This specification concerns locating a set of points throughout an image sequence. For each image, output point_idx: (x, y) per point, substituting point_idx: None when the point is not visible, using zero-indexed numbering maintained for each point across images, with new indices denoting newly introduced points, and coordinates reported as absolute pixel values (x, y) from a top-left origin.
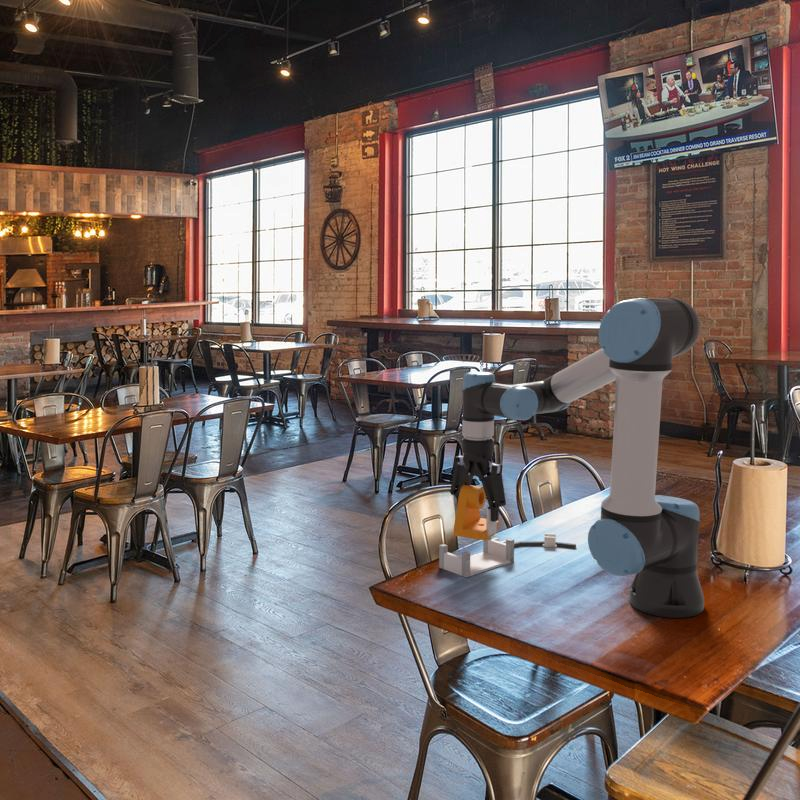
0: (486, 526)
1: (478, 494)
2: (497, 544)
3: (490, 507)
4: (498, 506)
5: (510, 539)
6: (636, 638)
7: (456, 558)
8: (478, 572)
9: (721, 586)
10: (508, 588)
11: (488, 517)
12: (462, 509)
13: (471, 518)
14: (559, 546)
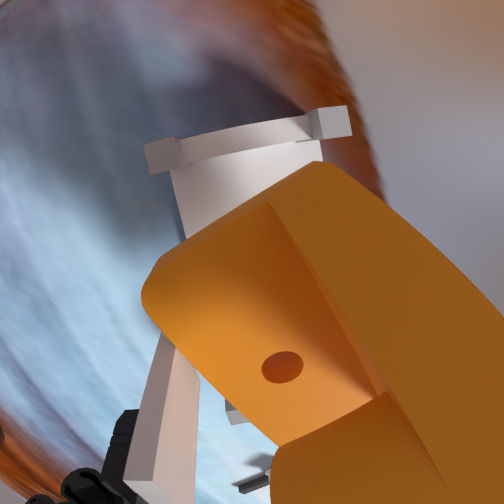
0: (172, 361)
1: None
2: None
3: (65, 482)
4: (29, 500)
5: (239, 417)
6: None
7: (218, 131)
8: (180, 213)
9: (26, 481)
10: (33, 228)
11: (142, 415)
12: (382, 298)
13: (356, 351)
14: (266, 475)
